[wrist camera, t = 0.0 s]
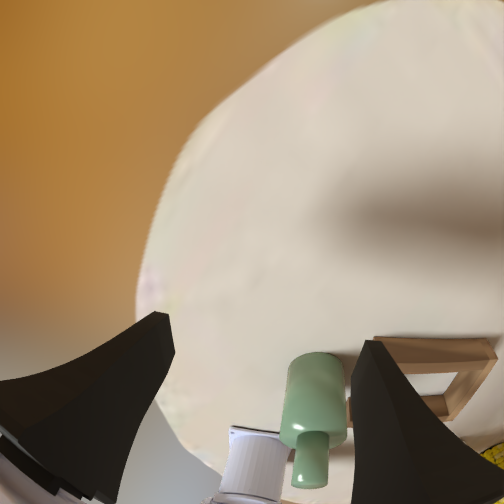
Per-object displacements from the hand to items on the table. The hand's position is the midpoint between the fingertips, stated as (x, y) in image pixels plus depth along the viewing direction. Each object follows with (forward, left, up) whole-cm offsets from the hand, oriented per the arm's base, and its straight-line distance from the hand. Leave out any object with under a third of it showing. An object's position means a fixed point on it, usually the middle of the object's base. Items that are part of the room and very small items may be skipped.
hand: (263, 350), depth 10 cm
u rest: (-12, -14, -10) cm, 21 cm away
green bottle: (-12, -4, -10) cm, 16 cm away
